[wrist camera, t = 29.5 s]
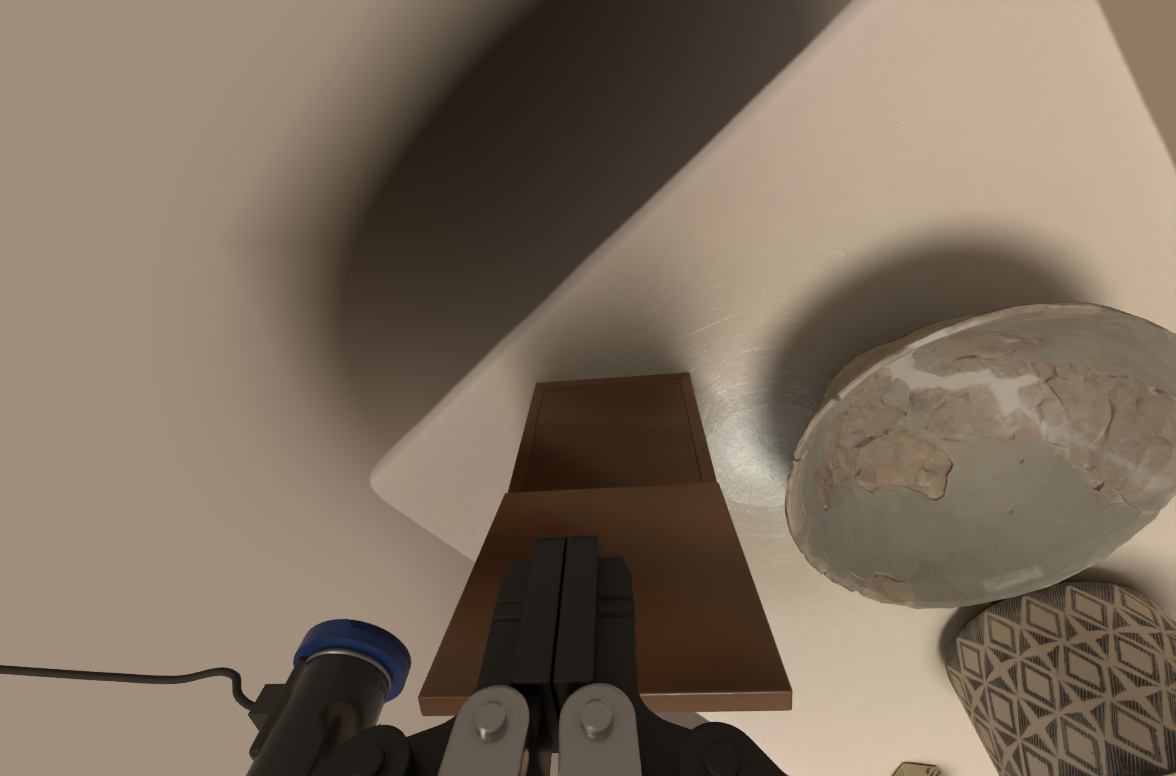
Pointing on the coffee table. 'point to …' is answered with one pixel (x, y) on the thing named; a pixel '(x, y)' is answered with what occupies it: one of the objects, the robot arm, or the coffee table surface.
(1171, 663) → the planter
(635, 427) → the chest
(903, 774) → the box
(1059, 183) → the coffee table surface
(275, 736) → the robot arm
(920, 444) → the ceramic bowl
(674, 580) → the lid
